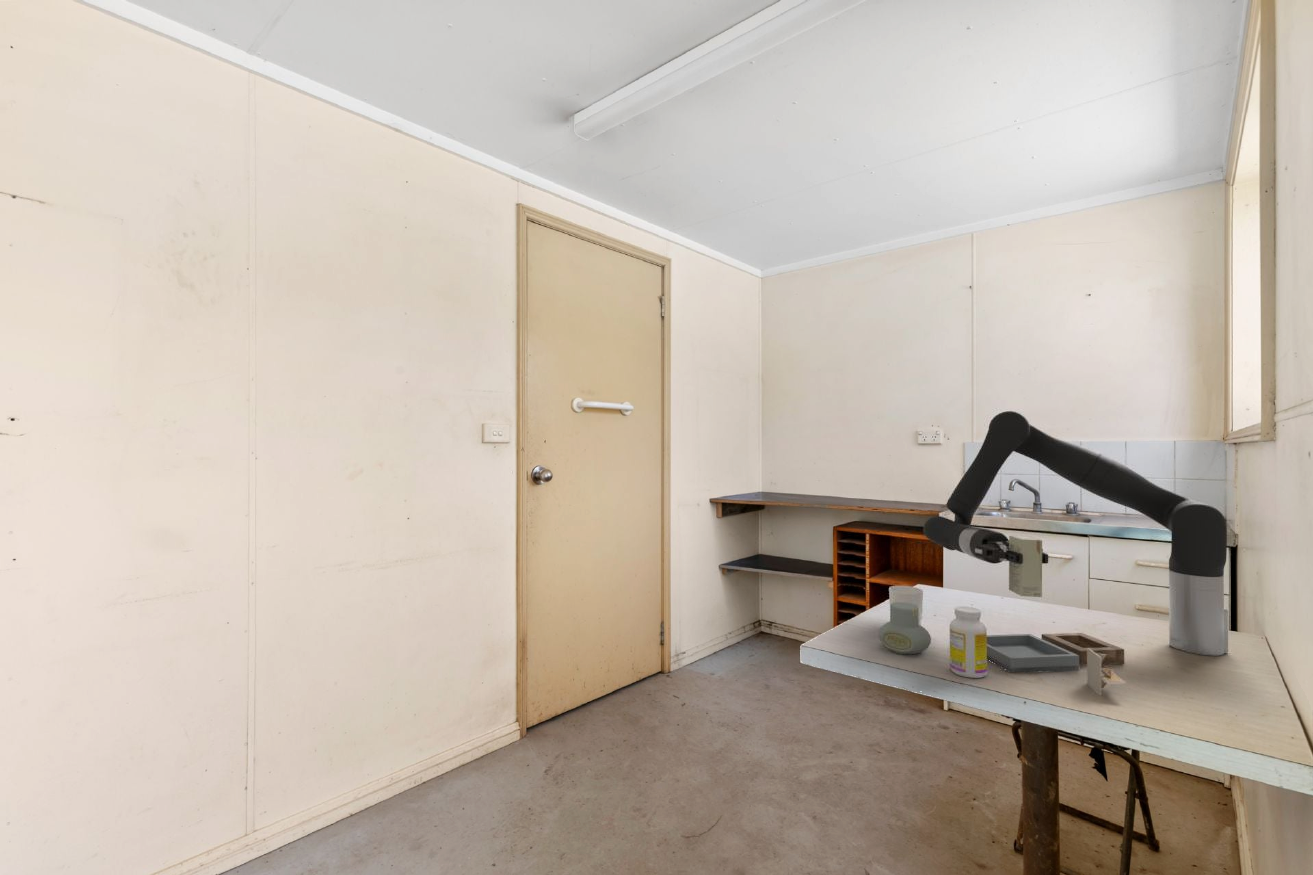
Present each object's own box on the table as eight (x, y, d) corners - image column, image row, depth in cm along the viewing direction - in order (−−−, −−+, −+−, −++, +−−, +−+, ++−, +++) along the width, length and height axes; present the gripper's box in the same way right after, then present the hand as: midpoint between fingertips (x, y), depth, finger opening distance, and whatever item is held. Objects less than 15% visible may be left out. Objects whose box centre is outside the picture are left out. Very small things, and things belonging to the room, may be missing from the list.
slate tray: (1029, 647, 136) (1029, 633, 136) (1079, 670, 122) (1079, 655, 122) (967, 649, 135) (967, 635, 135) (1010, 673, 121) (1010, 658, 121)
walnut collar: (1082, 646, 137) (1082, 632, 137) (1124, 663, 126) (1124, 649, 126) (1041, 647, 136) (1041, 634, 136) (1080, 665, 125) (1080, 651, 125)
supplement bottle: (985, 670, 122) (985, 607, 123) (988, 681, 116) (988, 615, 117) (949, 664, 125) (949, 603, 125) (950, 676, 119) (949, 611, 119)
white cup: (925, 628, 150) (925, 588, 150) (920, 636, 143) (920, 594, 144) (892, 623, 154) (892, 584, 154) (886, 631, 148) (885, 590, 148)
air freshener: (936, 651, 133) (936, 606, 133) (922, 661, 127) (922, 614, 127) (887, 640, 141) (887, 597, 141) (872, 649, 135) (872, 604, 135)
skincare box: (1042, 598, 126) (1044, 540, 126) (1020, 597, 127) (1022, 539, 127) (1028, 590, 133) (1029, 535, 133) (1007, 589, 133) (1008, 534, 133)
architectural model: (1107, 687, 115) (1107, 649, 115) (1125, 703, 108) (1125, 661, 108) (1086, 685, 116) (1086, 647, 116) (1103, 700, 109) (1103, 659, 109)
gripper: (955, 528, 143) (1002, 541, 126) (1011, 528, 144) (1065, 541, 127) (954, 560, 143) (1002, 577, 126) (1011, 559, 144) (1065, 576, 127)
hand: (1033, 558), depth 127 cm, fingers closed on skincare box, 5 cm apart
